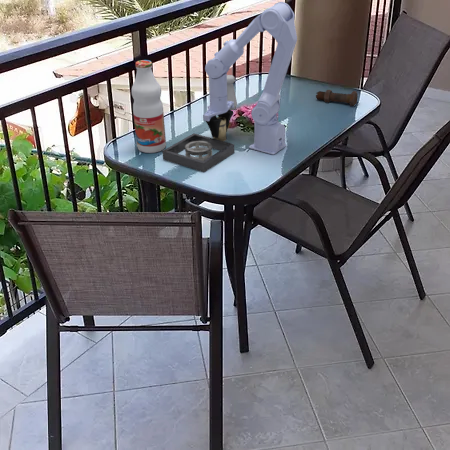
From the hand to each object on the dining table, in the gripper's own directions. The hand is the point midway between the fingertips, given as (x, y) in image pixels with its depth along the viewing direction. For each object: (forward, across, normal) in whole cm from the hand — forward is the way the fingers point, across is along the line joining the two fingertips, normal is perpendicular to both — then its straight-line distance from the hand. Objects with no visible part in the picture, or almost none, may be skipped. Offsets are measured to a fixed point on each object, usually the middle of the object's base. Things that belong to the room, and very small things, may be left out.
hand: (219, 134), depth 195 cm
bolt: (+2, -51, +18) cm, 54 cm away
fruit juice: (+2, +17, -15) cm, 23 cm away
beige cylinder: (+2, 0, 0) cm, 2 cm away
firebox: (+2, +14, +2) cm, 14 cm away
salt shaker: (+2, -23, -12) cm, 26 cm away
